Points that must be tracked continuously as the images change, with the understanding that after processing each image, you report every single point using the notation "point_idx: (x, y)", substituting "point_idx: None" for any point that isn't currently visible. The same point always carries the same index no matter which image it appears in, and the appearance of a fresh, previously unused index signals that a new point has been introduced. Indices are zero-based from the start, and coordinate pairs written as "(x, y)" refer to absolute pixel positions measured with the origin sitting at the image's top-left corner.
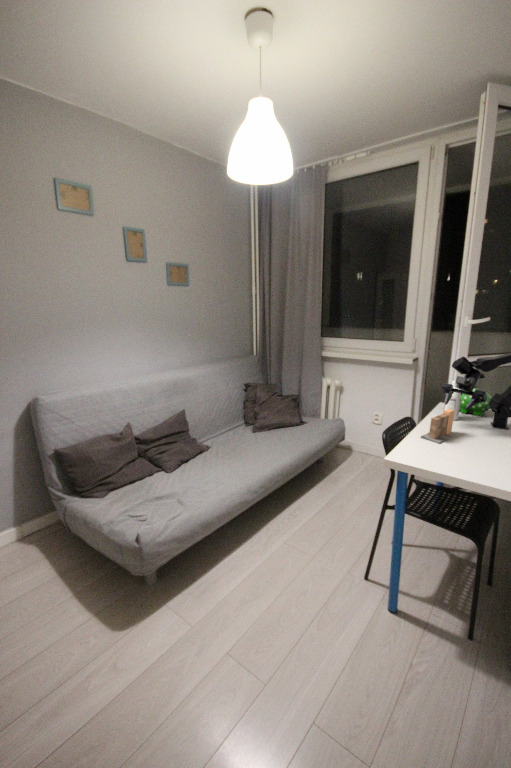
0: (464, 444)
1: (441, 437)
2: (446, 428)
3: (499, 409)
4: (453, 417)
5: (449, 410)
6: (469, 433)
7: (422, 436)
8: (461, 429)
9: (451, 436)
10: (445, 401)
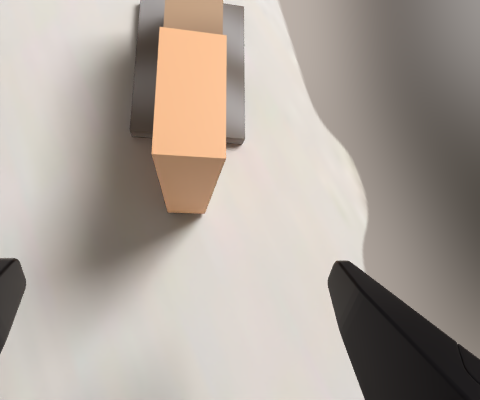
0: (37, 98)
1: None
2: None
3: None
4: (159, 180)
5: (191, 97)
6: (79, 328)
7: (236, 8)
8: (153, 364)
9: (130, 127)
10: (367, 276)
